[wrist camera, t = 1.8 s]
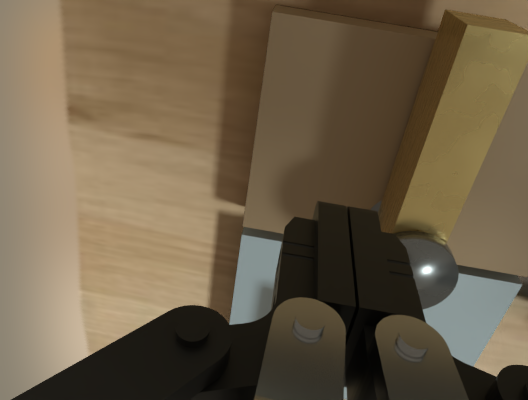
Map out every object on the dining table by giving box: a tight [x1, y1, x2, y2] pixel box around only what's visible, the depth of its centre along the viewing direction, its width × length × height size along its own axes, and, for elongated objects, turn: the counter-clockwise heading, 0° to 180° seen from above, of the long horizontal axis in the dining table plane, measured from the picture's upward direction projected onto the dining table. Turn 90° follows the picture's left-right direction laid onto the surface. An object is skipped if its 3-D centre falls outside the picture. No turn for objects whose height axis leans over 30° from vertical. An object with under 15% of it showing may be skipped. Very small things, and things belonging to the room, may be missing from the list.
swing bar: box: [378, 10, 528, 309], centre depth 24 cm, size 16×5×5 cm, turn 172°
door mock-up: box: [229, 5, 528, 399], centre depth 31 cm, size 20×31×6 cm, turn 172°
